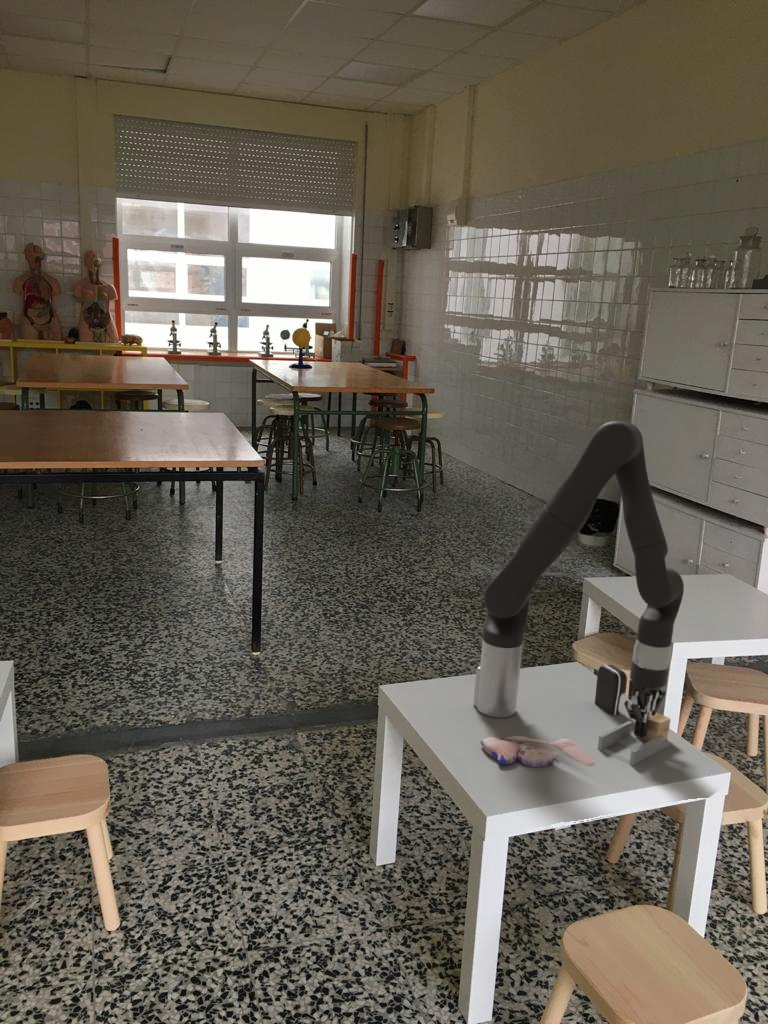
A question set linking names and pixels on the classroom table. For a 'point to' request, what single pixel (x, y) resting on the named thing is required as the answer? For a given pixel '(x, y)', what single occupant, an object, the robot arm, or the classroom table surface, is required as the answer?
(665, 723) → the oak block
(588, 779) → the classroom table surface
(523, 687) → the classroom table surface
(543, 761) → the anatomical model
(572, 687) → the classroom table surface
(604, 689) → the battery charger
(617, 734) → the channel
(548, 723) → the classroom table surface
